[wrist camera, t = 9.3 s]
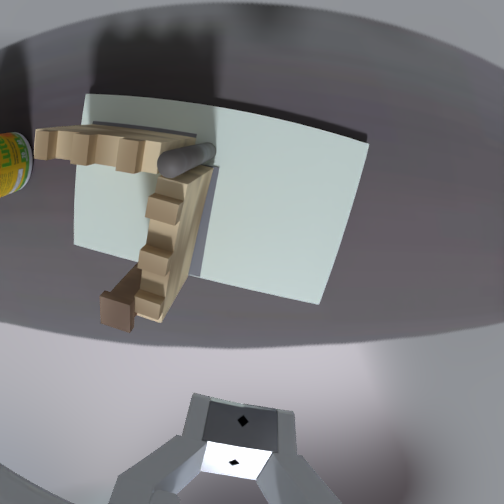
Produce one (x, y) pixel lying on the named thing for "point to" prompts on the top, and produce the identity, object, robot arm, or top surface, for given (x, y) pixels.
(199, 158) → the fence fixed
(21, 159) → the supplement bottle
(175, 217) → the notched wooden plank
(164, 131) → the card
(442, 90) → the top surface
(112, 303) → the corner post
